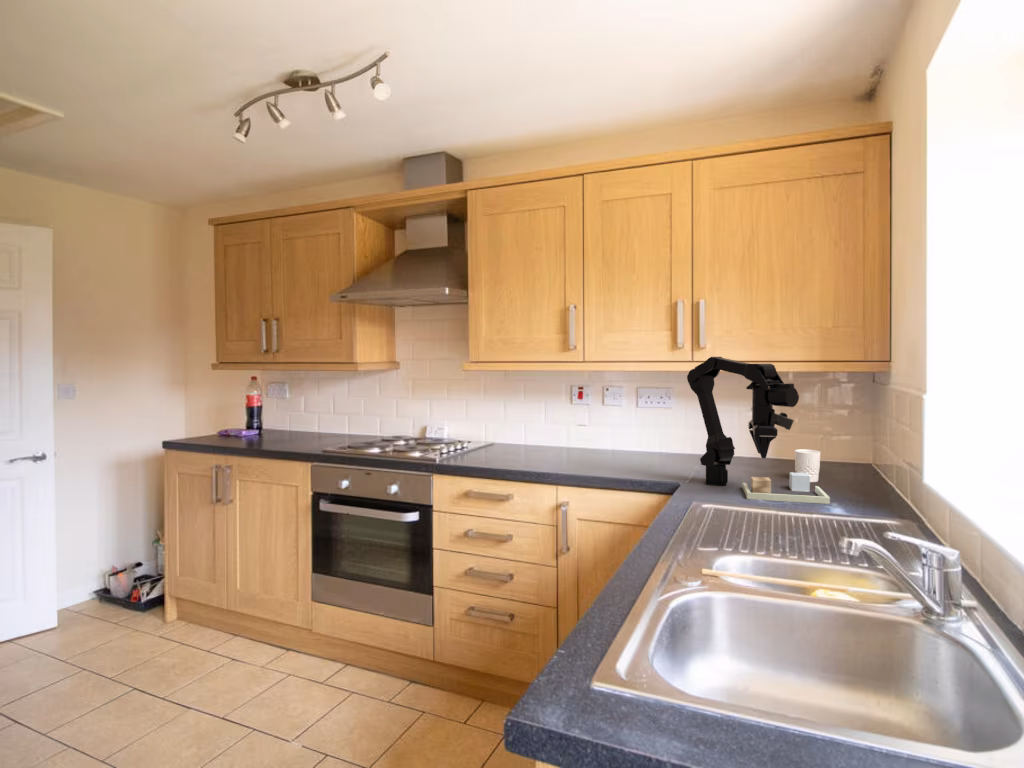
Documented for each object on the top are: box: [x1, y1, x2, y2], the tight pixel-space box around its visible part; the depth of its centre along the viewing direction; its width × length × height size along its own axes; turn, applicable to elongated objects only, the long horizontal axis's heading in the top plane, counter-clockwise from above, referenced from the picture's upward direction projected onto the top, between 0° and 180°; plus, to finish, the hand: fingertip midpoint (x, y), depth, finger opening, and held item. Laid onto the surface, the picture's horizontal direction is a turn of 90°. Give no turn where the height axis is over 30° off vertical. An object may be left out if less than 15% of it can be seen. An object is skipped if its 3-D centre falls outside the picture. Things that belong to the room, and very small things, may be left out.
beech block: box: [750, 476, 772, 494], centre depth 177 cm, size 5×5×5 cm
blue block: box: [788, 471, 811, 493], centre depth 184 cm, size 5×5×5 cm
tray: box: [742, 482, 831, 505], centre depth 176 cm, size 22×15×2 cm
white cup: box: [794, 448, 822, 483], centre depth 197 cm, size 8×8×10 cm
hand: (761, 455), depth 177 cm, fingers open, 9 cm apart
